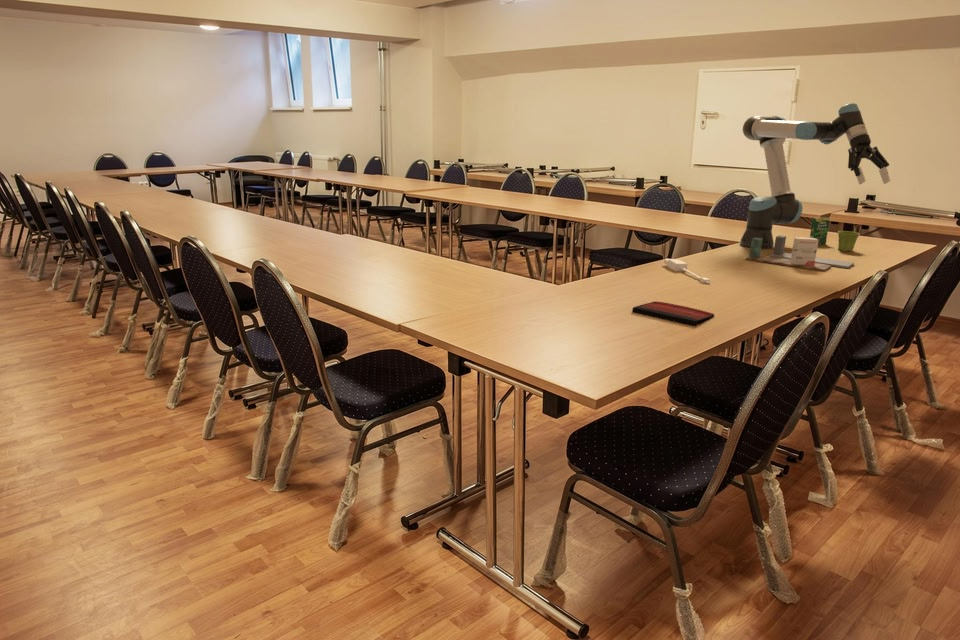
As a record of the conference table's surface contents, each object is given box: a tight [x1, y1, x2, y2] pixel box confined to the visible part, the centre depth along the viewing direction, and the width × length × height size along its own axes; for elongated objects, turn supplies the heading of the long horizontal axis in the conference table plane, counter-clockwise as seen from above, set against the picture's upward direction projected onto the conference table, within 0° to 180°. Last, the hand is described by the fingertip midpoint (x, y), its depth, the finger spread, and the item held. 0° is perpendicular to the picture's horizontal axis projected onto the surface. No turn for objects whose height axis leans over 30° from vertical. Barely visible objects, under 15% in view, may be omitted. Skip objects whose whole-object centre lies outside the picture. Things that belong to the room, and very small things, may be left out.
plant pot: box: [837, 230, 861, 252], centre depth 317 cm, size 9×9×9 cm
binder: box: [632, 301, 715, 328], centre depth 208 cm, size 16×2×21 cm
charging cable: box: [663, 258, 712, 284], centre depth 261 cm, size 5×32×3 cm, turn 11°
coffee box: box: [809, 217, 831, 245], centre depth 332 cm, size 8×3×13 cm, turn 100°
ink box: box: [790, 236, 819, 265], centre depth 280 cm, size 9×5×12 cm, turn 82°
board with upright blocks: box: [745, 238, 832, 272], centre depth 284 cm, size 32×11×9 cm, turn 50°
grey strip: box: [769, 235, 855, 269], centre depth 291 cm, size 32×11×9 cm, turn 50°
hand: (874, 182), depth 276 cm, fingers open, 13 cm apart
